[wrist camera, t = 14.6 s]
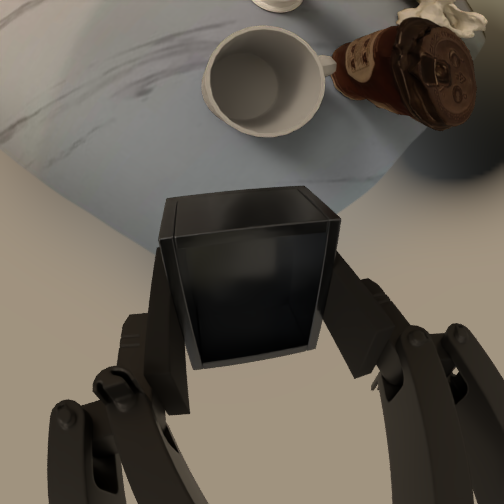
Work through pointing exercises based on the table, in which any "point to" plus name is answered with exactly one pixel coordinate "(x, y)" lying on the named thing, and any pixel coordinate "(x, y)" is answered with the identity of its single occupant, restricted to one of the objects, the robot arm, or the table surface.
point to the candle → (278, 5)
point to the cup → (265, 81)
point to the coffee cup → (410, 72)
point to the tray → (248, 271)
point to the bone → (446, 16)
